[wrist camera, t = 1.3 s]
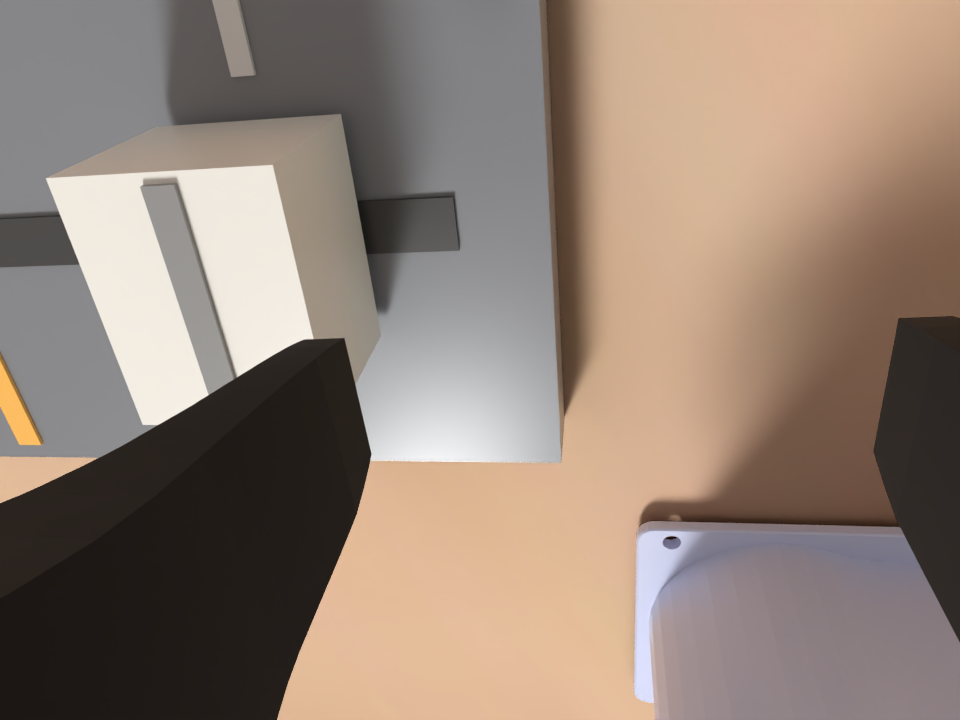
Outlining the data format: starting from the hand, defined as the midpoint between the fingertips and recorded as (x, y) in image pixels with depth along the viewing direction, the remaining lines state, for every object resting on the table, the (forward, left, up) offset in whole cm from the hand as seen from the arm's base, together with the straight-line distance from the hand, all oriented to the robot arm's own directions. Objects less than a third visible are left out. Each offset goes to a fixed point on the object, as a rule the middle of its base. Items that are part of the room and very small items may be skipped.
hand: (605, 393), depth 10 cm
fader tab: (+7, 0, -6) cm, 9 cm away
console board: (+11, 0, -8) cm, 14 cm away
